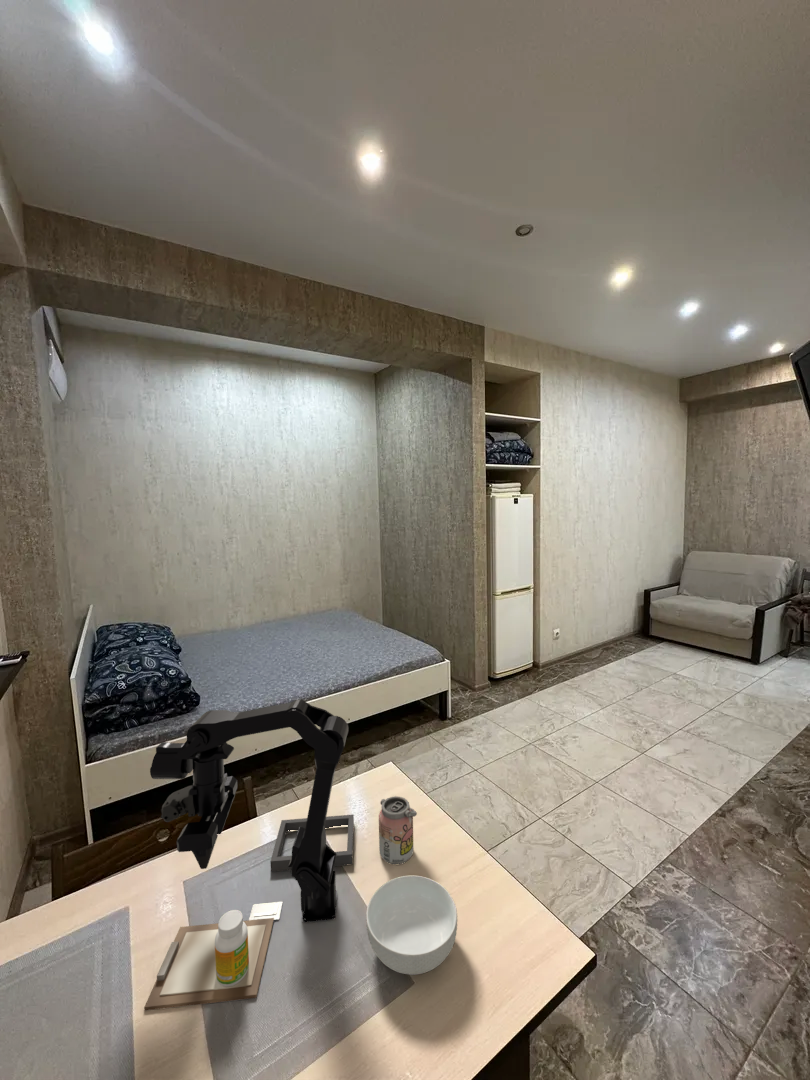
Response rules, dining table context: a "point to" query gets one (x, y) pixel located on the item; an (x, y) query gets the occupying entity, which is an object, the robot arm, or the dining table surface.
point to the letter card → (266, 911)
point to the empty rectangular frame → (294, 824)
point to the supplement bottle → (231, 949)
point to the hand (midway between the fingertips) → (211, 850)
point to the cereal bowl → (411, 924)
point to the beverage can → (396, 830)
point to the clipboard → (206, 968)
